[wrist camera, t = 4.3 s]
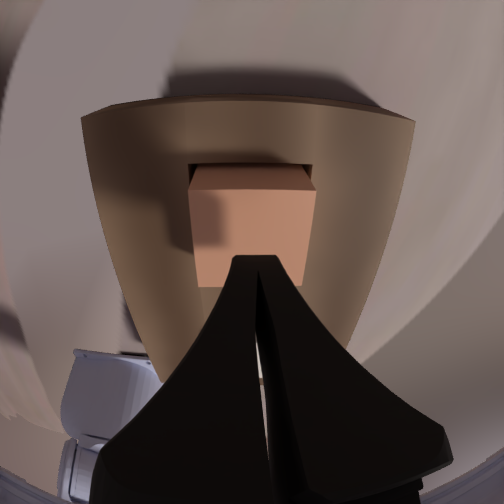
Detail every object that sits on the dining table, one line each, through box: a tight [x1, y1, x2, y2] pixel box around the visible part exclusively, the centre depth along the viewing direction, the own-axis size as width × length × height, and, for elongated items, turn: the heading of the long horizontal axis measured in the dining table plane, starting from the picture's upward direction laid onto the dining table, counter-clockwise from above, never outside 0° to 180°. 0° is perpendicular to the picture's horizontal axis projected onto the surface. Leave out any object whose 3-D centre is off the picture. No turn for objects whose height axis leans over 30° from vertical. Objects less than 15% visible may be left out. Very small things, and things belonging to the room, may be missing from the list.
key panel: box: [81, 94, 416, 385], centre depth 17 cm, size 14×20×3 cm
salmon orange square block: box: [188, 163, 317, 287], centre depth 12 cm, size 4×4×3 cm
